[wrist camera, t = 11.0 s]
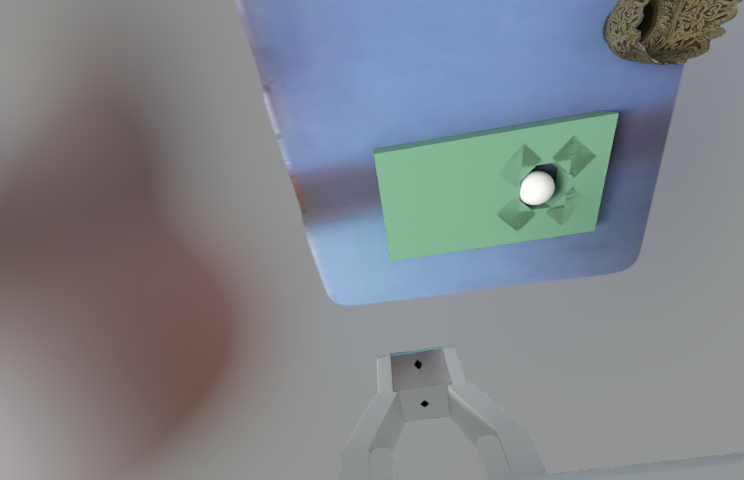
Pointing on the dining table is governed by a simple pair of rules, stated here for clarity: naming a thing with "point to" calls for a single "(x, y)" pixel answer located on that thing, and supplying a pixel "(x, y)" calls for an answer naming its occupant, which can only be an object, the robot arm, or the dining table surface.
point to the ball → (536, 188)
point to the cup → (665, 28)
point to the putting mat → (493, 185)
